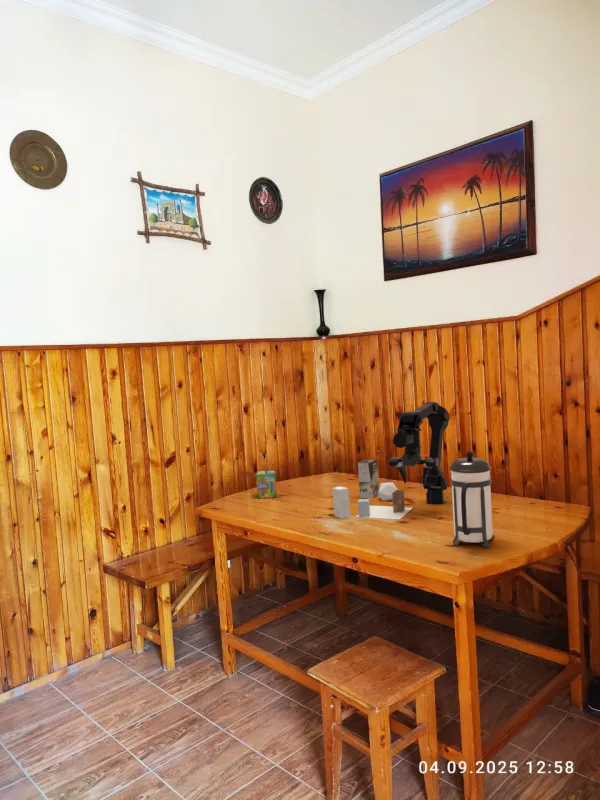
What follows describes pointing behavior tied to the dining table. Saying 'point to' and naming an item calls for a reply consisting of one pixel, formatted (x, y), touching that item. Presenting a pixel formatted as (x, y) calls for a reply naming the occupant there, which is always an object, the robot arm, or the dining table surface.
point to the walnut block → (398, 501)
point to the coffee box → (368, 478)
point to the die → (387, 491)
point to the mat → (386, 512)
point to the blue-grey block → (364, 508)
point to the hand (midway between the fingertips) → (414, 483)
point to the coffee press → (471, 500)
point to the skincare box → (341, 502)
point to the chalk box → (266, 484)
